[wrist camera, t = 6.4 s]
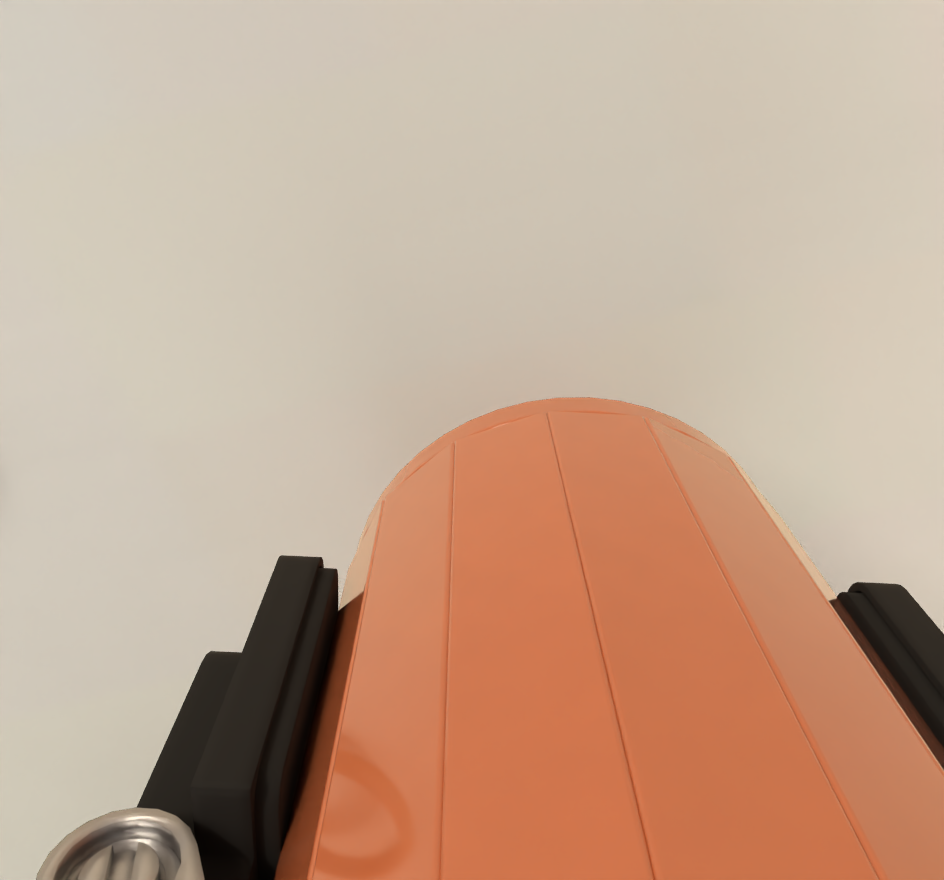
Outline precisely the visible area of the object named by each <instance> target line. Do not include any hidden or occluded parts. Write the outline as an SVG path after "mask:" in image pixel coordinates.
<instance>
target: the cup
mask: <svg viewBox="0 0 944 880" xmlns="http://www.w3.org/2000/svg"><path fill="white" fill-rule="evenodd" d="M274 880H944V748H943V747H942V745H941V744H940V743H939V741H938V740H937V738H936V737H935V735H934V734H933V733H932V731H931V730H930V728H929V727H928V725H927V724H926V723H925V721H924V720H923V718H922V717H921V716H920V714H919V713H918V711H917V710H916V708H915V707H914V706H913V704H912V703H911V701H910V700H909V698H908V697H907V696H906V694H905V693H904V691H903V690H902V689H901V687H900V686H899V684H898V683H897V681H896V680H895V679H894V677H893V676H892V674H891V673H890V671H889V670H888V669H887V667H886V666H885V664H884V663H883V662H882V660H881V659H880V657H879V656H878V654H877V653H876V652H875V650H874V649H873V647H872V646H871V644H870V643H869V642H868V640H867V639H866V637H865V636H864V635H863V633H862V632H861V630H860V629H859V627H858V626H857V625H856V623H855V622H854V620H853V619H852V617H851V616H850V615H849V613H848V612H847V610H846V609H845V608H844V606H843V605H842V603H841V602H840V600H839V599H838V598H837V596H836V595H835V593H834V592H833V590H832V589H831V588H830V586H829V585H828V583H827V582H826V581H825V579H824V578H823V576H822V575H821V573H820V572H819V571H818V569H817V568H816V566H815V565H814V563H813V562H812V561H811V559H810V558H809V556H808V555H807V554H806V552H805V551H804V549H803V548H802V546H801V545H800V544H799V542H798V541H797V539H796V538H795V536H794V535H793V534H792V532H791V531H790V529H789V528H788V527H787V525H786V524H785V522H784V521H783V519H782V518H781V517H780V515H779V514H778V513H777V512H776V511H775V509H774V508H773V507H772V506H771V505H770V503H769V502H768V501H767V500H766V499H765V498H764V496H763V495H762V494H761V493H760V492H759V490H758V489H757V488H756V486H755V485H754V483H753V482H752V481H751V479H750V478H749V476H748V475H747V474H746V472H745V471H744V470H743V468H742V467H741V466H740V465H739V464H738V463H737V462H736V461H735V460H734V459H733V458H732V457H731V456H730V455H729V454H728V453H727V452H726V451H725V450H724V449H723V448H722V447H720V446H719V445H718V444H716V443H715V442H714V441H712V440H711V439H710V438H708V437H707V436H706V435H704V434H703V433H702V432H700V431H698V430H696V429H694V428H693V427H691V426H689V425H687V424H685V423H684V422H682V421H680V420H678V419H676V418H674V417H671V416H668V415H666V414H663V413H661V412H658V411H656V410H653V409H650V408H647V407H643V406H639V405H635V404H631V403H626V402H622V401H616V400H607V399H599V398H590V397H587V398H553V399H546V400H538V401H530V402H525V403H521V404H518V405H514V406H510V407H506V408H502V409H498V410H496V411H493V412H491V413H488V414H486V415H483V416H480V417H478V418H475V419H473V420H470V421H468V422H466V423H465V424H463V425H461V426H459V427H457V428H455V429H454V430H452V431H450V432H448V433H446V434H445V435H443V436H441V437H440V438H439V439H437V440H436V441H435V442H433V443H432V444H430V445H429V446H428V447H426V448H425V449H424V450H422V451H421V452H420V453H418V454H417V455H416V456H415V457H414V458H413V459H412V460H411V461H410V462H409V463H408V464H407V465H406V466H405V467H404V468H403V469H402V470H401V471H400V472H399V473H398V474H397V475H396V477H395V478H394V479H393V480H392V482H391V483H390V484H389V485H388V487H387V488H386V489H385V490H384V492H383V493H382V495H381V496H380V498H379V500H378V501H377V503H376V505H375V506H374V508H373V510H372V512H371V513H370V515H369V517H368V520H367V522H366V525H365V527H364V529H363V532H362V534H361V537H360V540H359V544H358V548H357V552H356V554H355V556H354V558H353V560H352V562H351V564H350V566H349V569H348V572H347V577H346V581H345V585H344V589H343V593H342V598H341V602H340V606H339V610H338V614H337V618H336V623H335V627H334V631H333V635H332V639H331V644H330V648H329V652H328V656H327V660H326V665H325V669H324V673H323V677H322V681H321V686H320V690H319V694H318V698H317V702H316V706H315V711H314V715H313V719H312V723H311V727H310V732H309V736H308V740H307V744H306V748H305V753H304V757H303V761H302V765H301V769H300V774H299V778H298V782H297V786H296V790H295V795H294V799H293V803H292V807H291V811H290V815H289V820H288V824H287V828H286V832H285V836H284V841H283V845H282V849H281V853H280V857H279V862H278V866H277V870H276V874H275V878H274Z"/></svg>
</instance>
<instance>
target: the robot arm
mask: <svg viewBox="0 0 944 880" xmlns="http://www.w3.org/2000/svg"><path fill="white" fill-rule="evenodd" d="M837 598H838V599H839V600H840V602H841V603H842V605H843V606H844V608H845V609H846V610H847V612H848V613H849V615H850V616H851V617H852V619H853V620H854V622H855V623H856V625H857V626H858V627H859V629H860V630H861V632H862V633H863V635H864V636H865V637H866V639H867V640H868V642H869V643H870V644H871V646H872V647H873V649H874V650H875V652H876V653H877V654H878V656H879V657H880V659H881V660H882V662H883V663H884V664H885V666H886V667H887V669H888V670H889V671H890V673H891V674H892V676H893V677H894V679H895V680H896V681H897V683H898V684H899V686H900V687H901V689H902V690H903V691H904V693H905V694H906V696H907V697H908V698H909V700H910V701H911V703H912V704H913V706H914V707H915V708H916V710H917V711H918V713H919V714H920V716H921V717H922V718H923V720H924V721H925V723H926V724H927V725H928V727H929V728H930V730H931V731H932V733H933V734H934V735H935V737H936V738H937V740H938V741H939V743H940V744H941V745H942V747H943V748H944V634H943V633H942V632H941V630H940V629H939V628H938V627H937V626H936V624H935V623H934V622H933V621H932V620H931V619H930V617H929V616H928V615H927V614H926V613H925V611H924V610H923V609H922V608H921V607H920V606H919V604H918V603H917V602H916V601H915V600H914V598H913V597H912V596H911V595H910V594H909V593H908V591H907V590H906V589H905V588H904V587H902V586H901V585H898V584H884V583H863V582H857V583H854V584H853V585H852V586H851V587H850V588H849V590H848V592H842V593H840V594H839V595H838V596H837ZM337 614H338V572H337V569H330V568H324V565H323V559H322V557H303V556H280V557H279V559H278V561H277V563H276V566H275V569H274V571H273V574H272V576H271V579H270V581H269V584H268V587H267V589H266V592H265V594H264V597H263V600H262V602H261V605H260V607H259V610H258V612H257V615H256V618H255V620H254V623H253V625H252V628H251V631H250V633H249V636H248V638H247V641H246V643H245V646H244V649H243V651H242V653H239V652H216V651H211V652H209V653H208V654H206V656H205V658H204V659H203V661H202V663H201V665H200V667H199V670H198V672H197V674H196V676H195V679H194V681H193V683H192V685H191V687H190V690H189V692H188V694H187V696H186V699H185V701H184V703H183V705H182V708H181V710H180V712H179V714H178V716H177V719H176V721H175V723H174V725H173V728H172V730H171V732H170V734H169V737H168V739H167V741H166V743H165V745H164V748H163V750H162V752H161V754H160V757H159V759H158V761H157V763H156V766H155V768H154V770H153V772H152V774H151V777H150V779H149V781H148V783H147V786H146V788H145V790H144V792H143V795H142V797H141V799H140V801H139V803H138V806H137V808H131V809H125V810H119V811H113V812H110V813H108V814H105V815H103V816H100V817H98V818H95V819H93V820H90V821H88V822H86V823H85V824H83V825H82V826H80V827H79V828H77V829H76V830H74V831H73V832H71V833H70V834H68V835H67V836H66V837H65V838H64V839H63V840H62V841H61V842H60V843H59V844H58V845H57V846H56V847H55V848H54V849H53V850H52V851H51V852H50V853H49V854H48V856H47V858H46V860H45V861H44V863H43V865H42V866H41V868H40V870H39V872H38V873H37V878H36V880H274V878H275V874H276V870H277V866H278V862H279V857H280V853H281V849H282V845H283V841H284V836H285V832H286V828H287V824H288V820H289V815H290V811H291V807H292V803H293V799H294V795H295V790H296V786H297V782H298V778H299V774H300V769H301V765H302V761H303V757H304V753H305V748H306V744H307V740H308V736H309V732H310V727H311V723H312V719H313V715H314V711H315V706H316V702H317V698H318V694H319V690H320V686H321V681H322V677H323V673H324V669H325V665H326V660H327V656H328V652H329V648H330V644H331V639H332V635H333V631H334V627H335V623H336V618H337Z"/></svg>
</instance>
